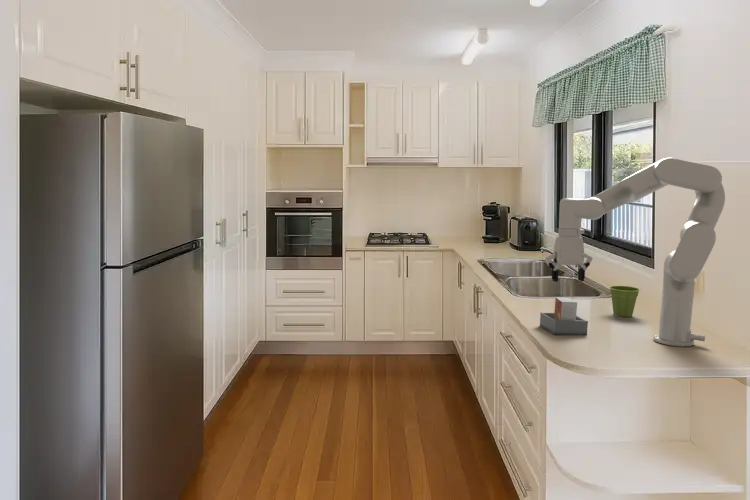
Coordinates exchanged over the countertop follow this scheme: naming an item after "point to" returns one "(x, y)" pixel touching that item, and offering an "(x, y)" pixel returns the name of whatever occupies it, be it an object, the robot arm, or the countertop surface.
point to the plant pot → (623, 300)
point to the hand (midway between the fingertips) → (568, 280)
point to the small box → (565, 309)
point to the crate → (563, 325)
